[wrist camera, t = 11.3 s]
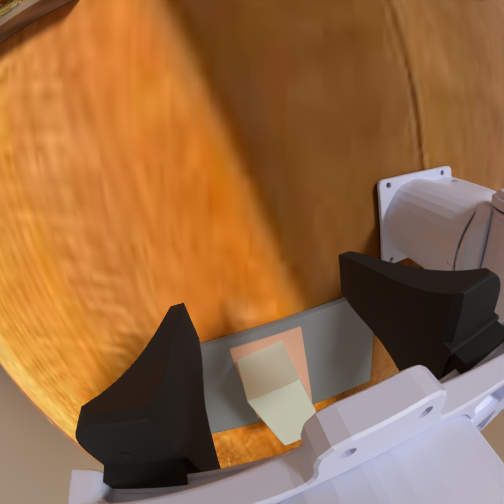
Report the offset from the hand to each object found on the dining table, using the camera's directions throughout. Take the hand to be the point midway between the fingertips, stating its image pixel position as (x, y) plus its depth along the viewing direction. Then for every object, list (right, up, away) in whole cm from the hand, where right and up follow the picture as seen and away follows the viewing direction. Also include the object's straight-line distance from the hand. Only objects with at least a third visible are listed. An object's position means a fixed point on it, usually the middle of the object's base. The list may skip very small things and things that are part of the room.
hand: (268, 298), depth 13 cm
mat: (+2, -11, +15) cm, 19 cm away
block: (+2, -11, +15) cm, 18 cm away
